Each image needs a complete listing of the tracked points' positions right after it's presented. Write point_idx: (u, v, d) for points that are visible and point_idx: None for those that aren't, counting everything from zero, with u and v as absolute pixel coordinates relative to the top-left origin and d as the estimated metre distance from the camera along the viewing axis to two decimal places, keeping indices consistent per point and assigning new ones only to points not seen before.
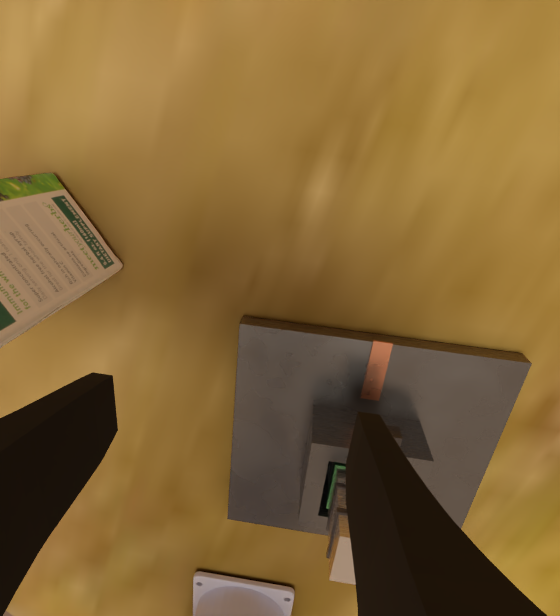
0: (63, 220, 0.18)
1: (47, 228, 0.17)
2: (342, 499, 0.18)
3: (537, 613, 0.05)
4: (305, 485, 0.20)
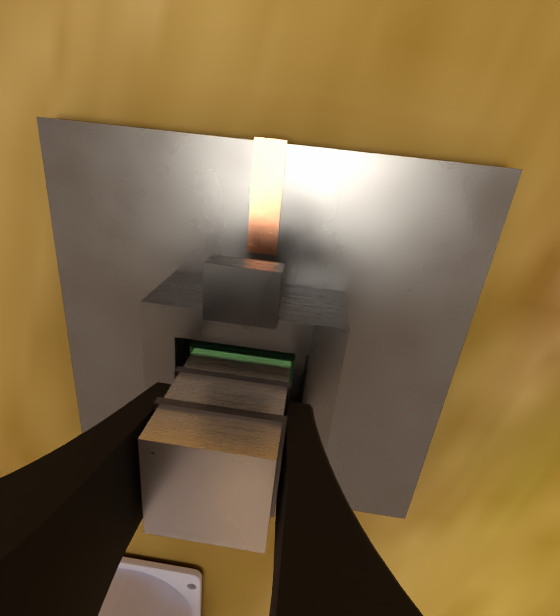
0: None
1: None
2: (176, 388, 0.10)
3: (394, 589, 0.05)
4: (146, 386, 0.12)
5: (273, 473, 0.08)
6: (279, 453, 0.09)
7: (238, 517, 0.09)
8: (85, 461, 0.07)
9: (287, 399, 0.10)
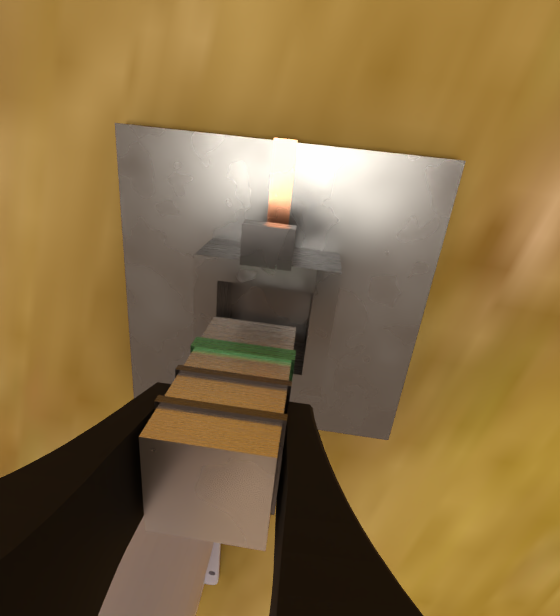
0: None
1: None
2: (177, 386, 0.10)
3: (394, 589, 0.05)
4: (194, 319, 0.17)
5: (273, 471, 0.08)
6: (279, 451, 0.09)
7: (238, 515, 0.09)
8: (84, 461, 0.07)
9: (287, 397, 0.10)
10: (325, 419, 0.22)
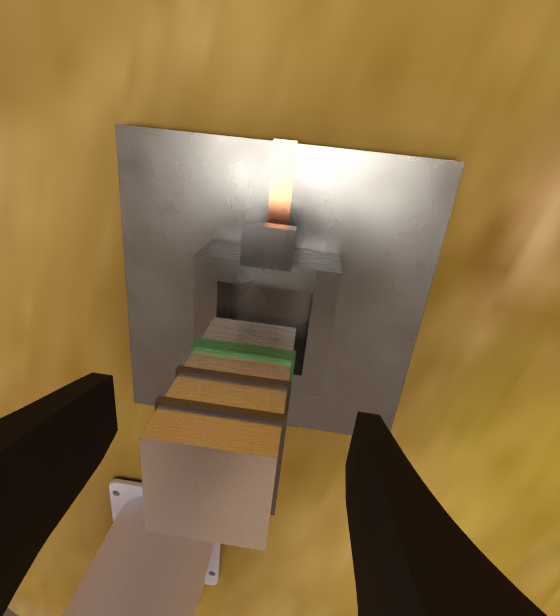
0: None
1: None
2: (177, 387, 0.10)
3: (537, 613, 0.05)
4: (194, 319, 0.17)
5: (273, 471, 0.08)
6: (279, 451, 0.09)
7: (239, 515, 0.09)
8: None
9: (287, 398, 0.10)
10: (325, 419, 0.22)
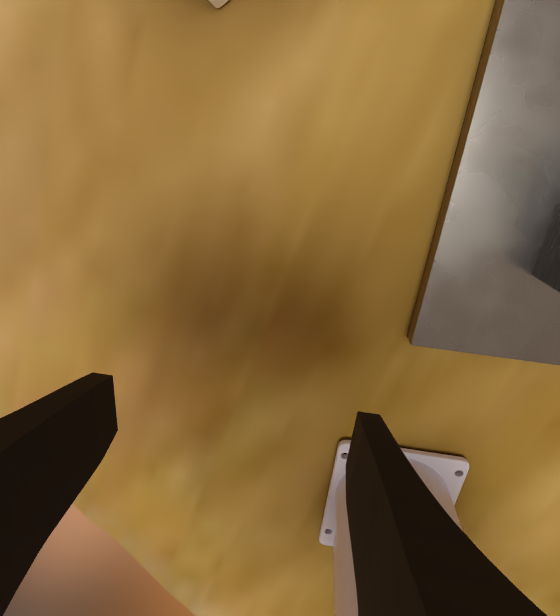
0: None
1: None
2: None
3: (537, 613, 0.05)
4: None
5: None
6: None
7: None
8: None
9: None
10: None
